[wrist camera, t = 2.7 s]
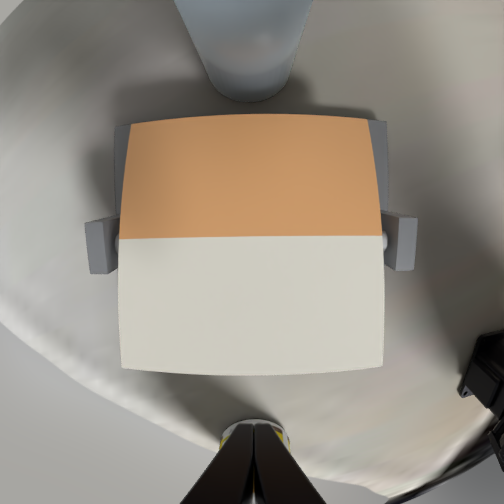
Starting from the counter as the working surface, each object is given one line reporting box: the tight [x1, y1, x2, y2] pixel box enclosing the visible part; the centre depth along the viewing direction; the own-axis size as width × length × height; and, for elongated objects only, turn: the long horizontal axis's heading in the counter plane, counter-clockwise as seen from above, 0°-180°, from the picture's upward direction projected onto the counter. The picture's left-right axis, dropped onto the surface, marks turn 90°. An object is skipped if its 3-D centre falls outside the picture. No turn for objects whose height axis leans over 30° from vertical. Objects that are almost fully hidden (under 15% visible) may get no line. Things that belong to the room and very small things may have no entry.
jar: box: [174, 0, 313, 102], centre depth 10 cm, size 5×5×11 cm
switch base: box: [85, 114, 418, 274], centre depth 15 cm, size 16×13×6 cm
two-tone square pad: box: [115, 114, 387, 376], centre depth 13 cm, size 12×11×2 cm
